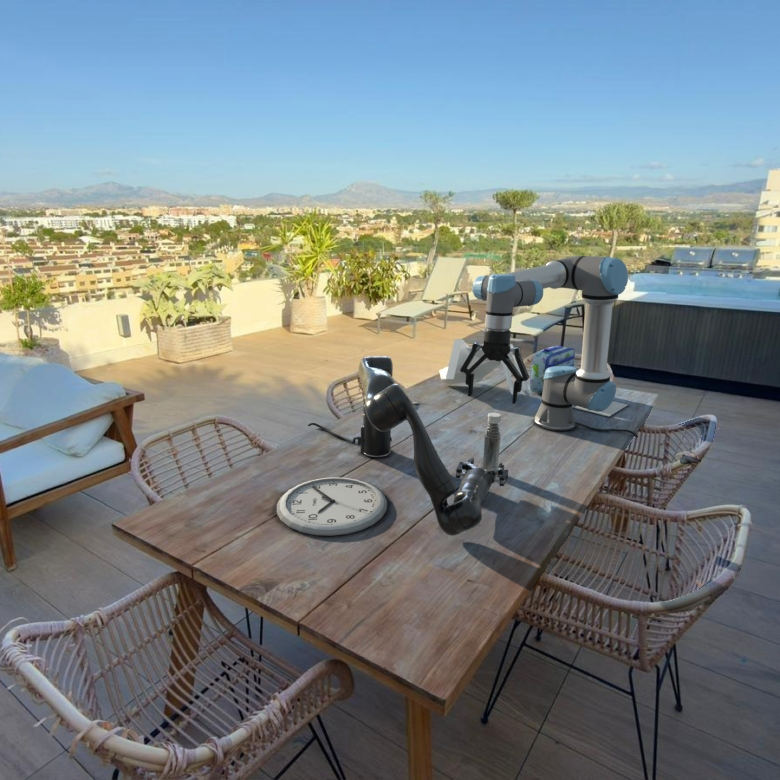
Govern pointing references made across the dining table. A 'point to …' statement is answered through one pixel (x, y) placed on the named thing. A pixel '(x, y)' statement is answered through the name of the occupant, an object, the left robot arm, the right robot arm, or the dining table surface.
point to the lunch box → (549, 364)
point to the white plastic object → (459, 357)
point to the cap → (494, 418)
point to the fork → (415, 401)
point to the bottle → (491, 447)
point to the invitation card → (609, 411)
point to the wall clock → (331, 506)
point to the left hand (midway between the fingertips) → (486, 463)
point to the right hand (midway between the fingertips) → (491, 398)
